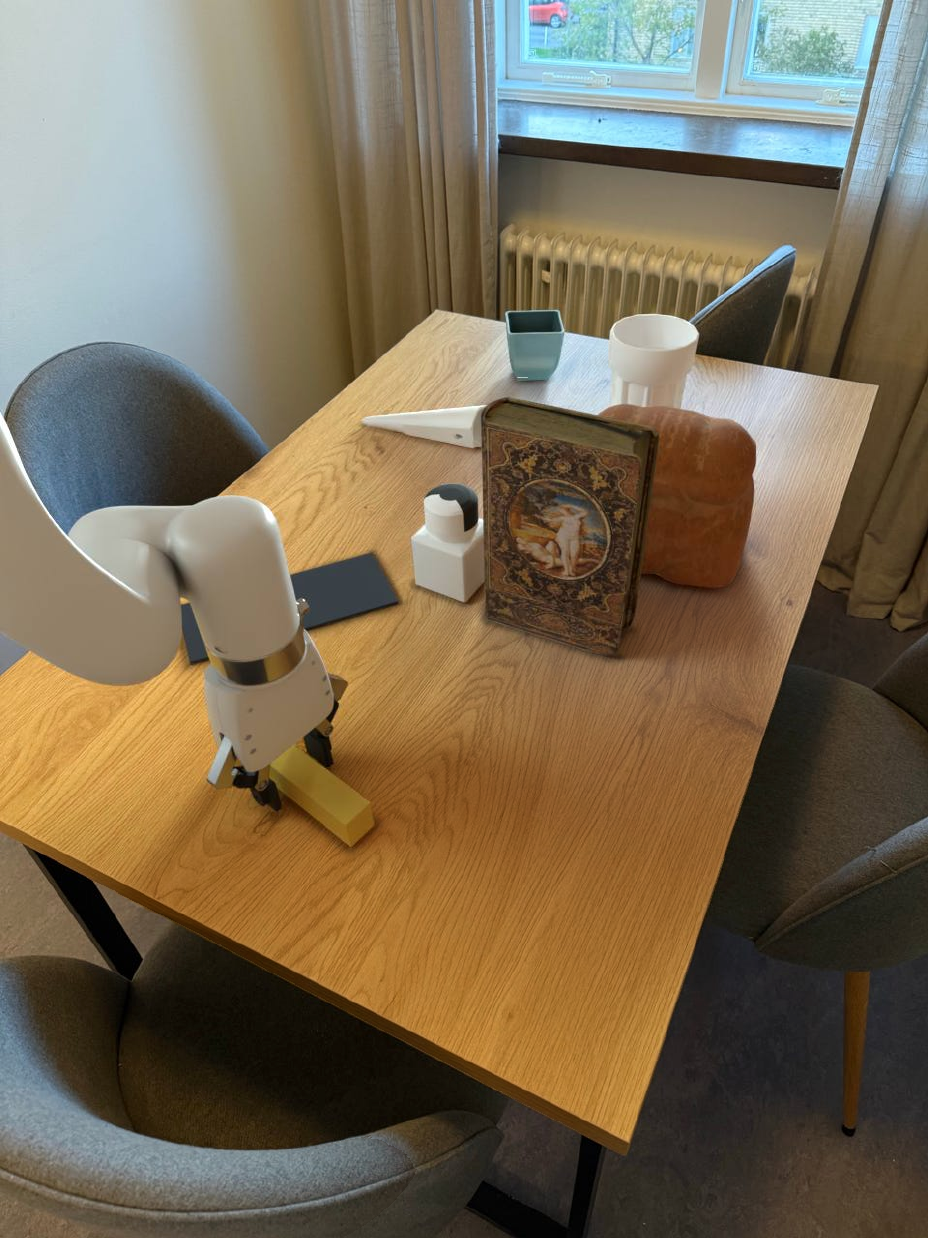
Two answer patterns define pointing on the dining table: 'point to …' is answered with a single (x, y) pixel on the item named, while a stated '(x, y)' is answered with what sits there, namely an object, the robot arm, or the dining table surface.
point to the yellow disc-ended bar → (322, 795)
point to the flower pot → (534, 343)
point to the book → (564, 520)
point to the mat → (319, 597)
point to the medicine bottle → (450, 543)
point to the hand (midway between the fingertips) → (295, 779)
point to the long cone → (436, 424)
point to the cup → (651, 360)
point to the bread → (696, 494)
